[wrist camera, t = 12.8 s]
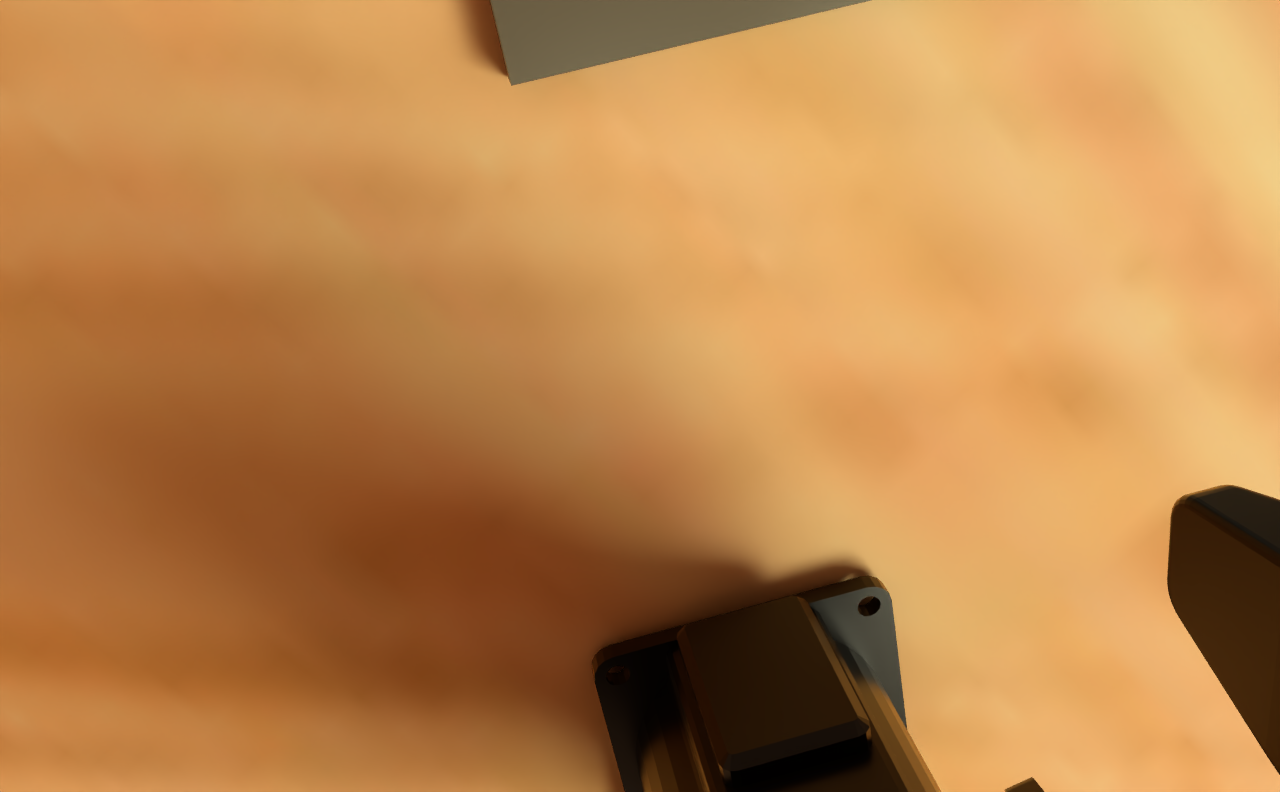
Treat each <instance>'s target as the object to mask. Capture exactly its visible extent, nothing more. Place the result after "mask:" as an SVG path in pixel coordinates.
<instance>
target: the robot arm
mask: <svg viewBox="0 0 1280 792" xmlns="http://www.w3.org/2000/svg"><path fill="white" fill-rule="evenodd" d="M1167 584H1168V591H1169V596H1170V599H1171V602H1172V604H1173V607H1174V609H1175V611H1176V613H1177V615H1178V616H1179V618H1180V620H1181V621H1182V623H1183V624H1184V626H1185V628H1186V629H1187V631H1188V632H1189V634H1190V635H1191V637H1192V639H1193V640H1194V642H1195V643H1196V645H1197V647H1198V648H1199V650H1200V651H1201V653H1202V654H1203V656H1204V658H1205V659H1206V661H1207V662H1208V664H1209V665H1210V667H1211V669H1212V670H1213V672H1214V673H1215V675H1216V676H1217V678H1218V680H1219V681H1220V683H1221V684H1222V686H1223V688H1224V689H1225V691H1226V692H1227V694H1228V695H1229V697H1230V699H1231V700H1232V702H1233V703H1234V705H1235V706H1236V708H1237V710H1238V711H1239V713H1240V714H1241V716H1242V718H1243V719H1244V721H1245V722H1246V724H1247V725H1248V727H1249V729H1250V730H1251V732H1252V733H1253V735H1254V736H1255V738H1256V740H1257V741H1258V743H1259V744H1260V746H1261V748H1262V749H1263V751H1264V752H1265V754H1266V755H1267V757H1268V758H1269V760H1270V761H1271V763H1272V764H1273V766H1274V767H1275V769H1276V770H1277V772H1278V773H1279V774H1280V500H1279V499H1276V498H1273V497H1269V496H1266V495H1263V494H1260V493H1257V492H1254V491H1251V490H1248V489H1245V488H1242V487H1238V486H1234V485H1222V486H1217V487H1213V488H1210V489H1206V490H1202V491H1198V492H1195V493H1191V494H1187V495H1184V496H1182V497H1181V498H1179V499H1178V500H1177V501H1176V502H1175V504H1174V506H1173V508H1172V513H1171V523H1170V540H1169V557H1168V574H1167ZM870 596H874V597H873V598H872V600H871V601H870V602H869V603H867V604H865V605H858V604H859V603H860V602H861V600H862V599H864V598H866V597H870ZM614 666H624V667H625V668H624V669H623V670H622V671H620V672H618V673H610V672H608V671H609V669H611V668H612V667H614ZM592 671H593V676H594V680H595V684H596V688H597V692H598V695H599V699H600V703H601V706H602V710H603V713H604V717H605V721H606V724H607V728H608V732H609V735H610V739H611V743H612V746H613V750H614V753H615V757H616V761H617V764H618V768H619V772H620V775H621V779H622V783H623V786H624V790H625V792H941V790H940V789H939V787H938V785H937V783H936V781H935V780H934V778H933V776H932V774H931V772H930V771H929V769H928V767H927V765H926V763H925V762H924V760H923V758H922V756H921V754H920V753H919V751H918V749H917V747H916V745H915V744H914V742H913V740H912V738H911V736H910V735H909V733H908V731H907V725H906V717H905V709H904V700H903V692H902V683H901V675H900V666H899V658H898V649H897V641H896V632H895V624H894V616H893V607H892V600H891V597H890V594H889V592H888V591H887V589H886V588H885V586H884V585H883V583H882V582H881V581H880V580H879V579H877V578H875V577H871V576H863V577H858V578H854V579H850V580H847V581H843V582H839V583H836V584H832V585H828V586H825V587H821V588H817V589H814V590H810V591H807V592H803V593H799V594H796V595H792V596H788V597H785V598H781V599H777V600H774V601H770V602H766V603H763V604H759V605H755V606H752V607H748V608H744V609H741V610H737V611H733V612H730V613H726V614H722V615H719V616H715V617H711V618H708V619H704V620H700V621H697V622H693V623H689V624H686V625H682V626H678V627H675V628H671V629H667V630H664V631H660V632H656V633H653V634H649V635H646V636H642V637H638V638H635V639H631V640H627V641H624V642H620V643H616V644H613V645H609V646H607V647H605V648H603V649H601V650H600V651H599V652H598V653H597V654H596V655H595V657H594V659H593V661H592ZM1005 792H1044V791H1043V789H1042V788H1041V787H1040V786H1039V785H1038V783H1037V782H1036V781H1035V780H1034V778H1032V777H1031V778H1029V779H1027V780H1025V781H1023V782H1020V783H1018V784H1016V785H1014V786H1012V787H1009V788H1007V789H1005Z"/></svg>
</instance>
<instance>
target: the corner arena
mask: <svg viewBox="0 0 1280 792" xmlns="http://www.w3.org/2000/svg"><path fill="white" fill-rule="evenodd" d="M866 1H870V0H490V4H491V9H492V13H493V17H494V21H495V25H496V29H497V33H498V37H499V41H500V45H501V50H502V54H503V58H504V62H505V66H506V70H507V74H508V78H509V81H510V83H511V86H512V85H516V84H520V83H524V82H529V81H533V80H537V79H541V78H546V77H550V76H554V75H558V74H562V73H567V72H571V71H575V70H579V69H584V68H588V67H592V66H596V65H600V64H605V63H609V62H613V61H617V60H622V59H626V58H630V57H634V56H638V55H643V54H647V53H651V52H655V51H659V50H664V49H668V48H672V47H676V46H681V45H685V44H689V43H693V42H697V41H702V40H706V39H710V38H714V37H719V36H723V35H727V34H731V33H735V32H740V31H744V30H748V29H752V28H757V27H761V26H765V25H769V24H773V23H778V22H782V21H786V20H790V19H794V18H799V17H803V16H807V15H811V14H816V13H820V12H824V11H828V10H832V9H837V8H841V7H845V6H849V5H854V4H858V3H862V2H866Z"/></svg>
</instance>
